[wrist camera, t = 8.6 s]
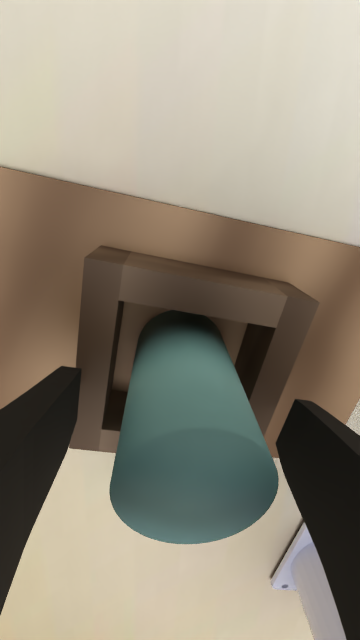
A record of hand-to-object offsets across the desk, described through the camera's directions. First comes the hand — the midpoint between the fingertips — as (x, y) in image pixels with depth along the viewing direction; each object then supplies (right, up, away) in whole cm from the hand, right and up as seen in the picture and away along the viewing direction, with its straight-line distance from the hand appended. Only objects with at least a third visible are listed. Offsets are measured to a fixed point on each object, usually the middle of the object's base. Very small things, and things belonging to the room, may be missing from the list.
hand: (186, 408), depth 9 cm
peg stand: (0, +2, +4) cm, 4 cm away
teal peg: (0, +2, +4) cm, 4 cm away
